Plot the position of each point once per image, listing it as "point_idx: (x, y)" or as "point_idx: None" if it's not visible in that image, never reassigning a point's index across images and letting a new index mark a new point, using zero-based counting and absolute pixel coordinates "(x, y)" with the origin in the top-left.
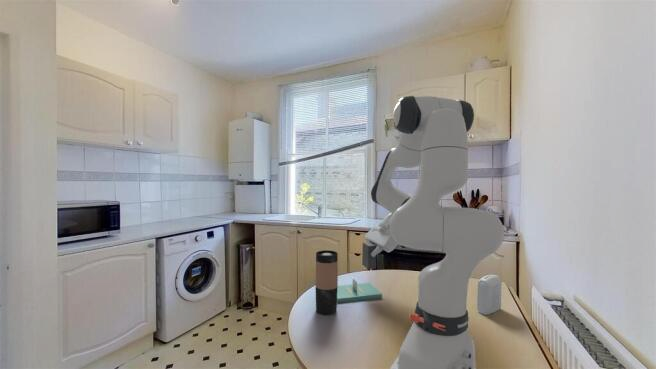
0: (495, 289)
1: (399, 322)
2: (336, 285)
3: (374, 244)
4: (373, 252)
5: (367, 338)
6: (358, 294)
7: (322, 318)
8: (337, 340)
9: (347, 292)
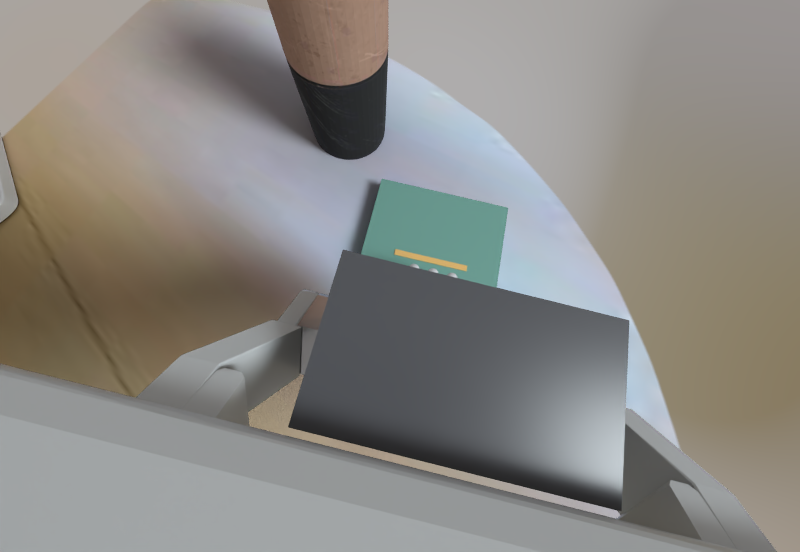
0: None
1: (130, 290)
2: (287, 55)
3: (387, 450)
4: (285, 316)
5: (135, 143)
6: None
7: None
8: (183, 77)
9: (417, 243)
